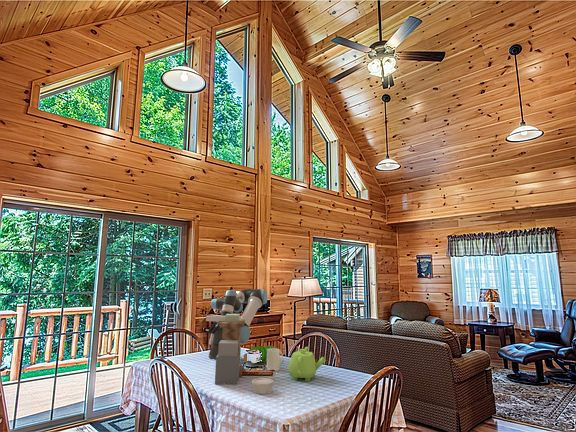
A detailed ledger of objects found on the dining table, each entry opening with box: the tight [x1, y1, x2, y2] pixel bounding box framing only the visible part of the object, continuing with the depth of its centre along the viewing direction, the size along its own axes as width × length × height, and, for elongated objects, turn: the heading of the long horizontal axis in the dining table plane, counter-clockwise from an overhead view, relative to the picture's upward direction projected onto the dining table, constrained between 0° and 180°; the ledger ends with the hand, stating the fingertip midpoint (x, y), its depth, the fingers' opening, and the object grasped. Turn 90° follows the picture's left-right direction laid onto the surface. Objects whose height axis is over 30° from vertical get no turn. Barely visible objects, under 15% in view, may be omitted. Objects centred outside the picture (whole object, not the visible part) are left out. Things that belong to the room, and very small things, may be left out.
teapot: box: [288, 346, 327, 382], centre depth 219 cm, size 25×22×16 cm
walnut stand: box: [218, 319, 245, 378], centre depth 227 cm, size 14×20×30 cm
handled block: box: [205, 313, 241, 322], centre depth 230 cm, size 20×8×4 cm, turn 93°
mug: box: [266, 347, 284, 372], centre depth 237 cm, size 12×8×12 cm
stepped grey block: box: [214, 340, 241, 385], centre depth 209 cm, size 12×12×21 cm
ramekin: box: [251, 377, 275, 395], centre depth 191 cm, size 11×11×5 cm
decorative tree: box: [243, 345, 278, 363], centre depth 257 cm, size 11×12×30 cm
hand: (219, 344), depth 239 cm, fingers open, 13 cm apart
